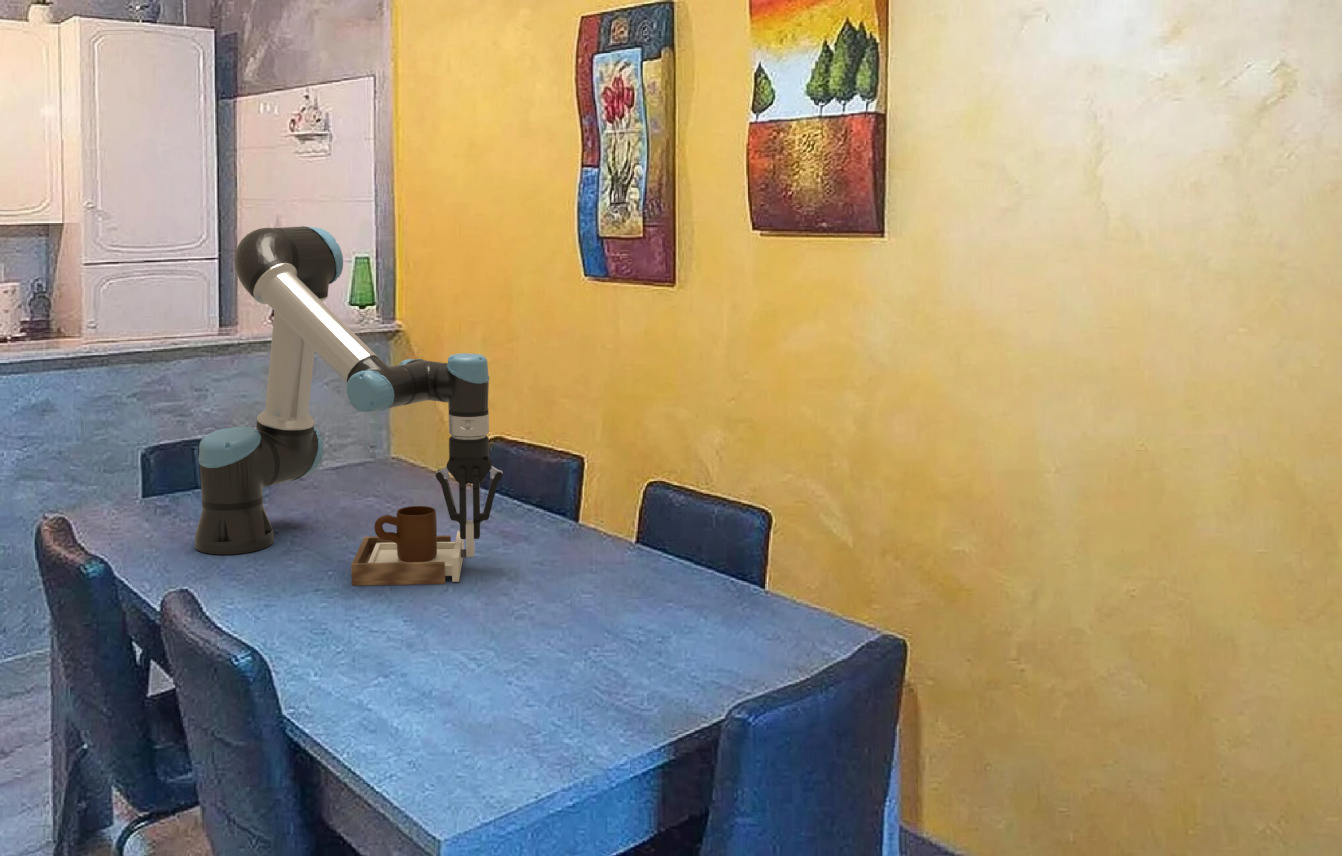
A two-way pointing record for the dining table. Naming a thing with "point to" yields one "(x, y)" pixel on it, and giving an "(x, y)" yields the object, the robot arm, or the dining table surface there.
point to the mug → (411, 533)
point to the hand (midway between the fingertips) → (470, 554)
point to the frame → (394, 568)
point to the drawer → (445, 553)
